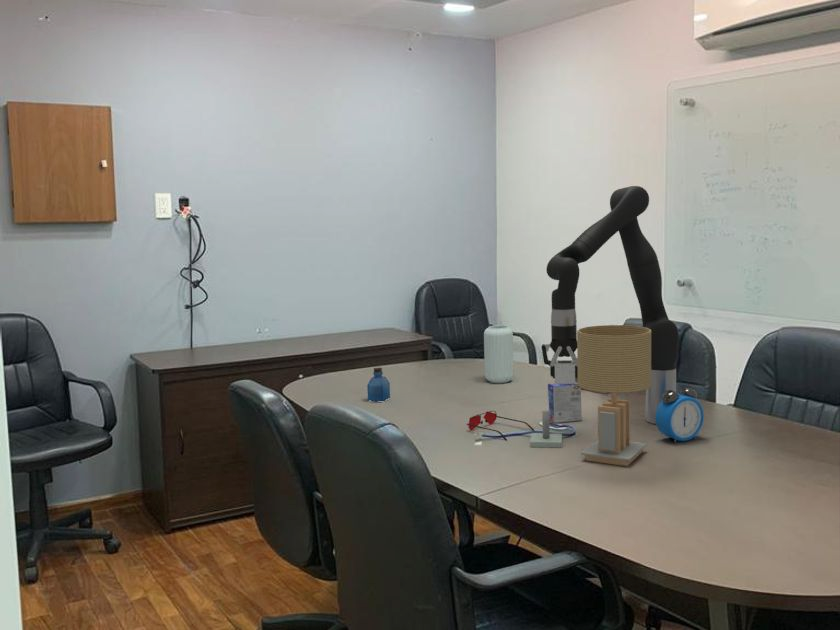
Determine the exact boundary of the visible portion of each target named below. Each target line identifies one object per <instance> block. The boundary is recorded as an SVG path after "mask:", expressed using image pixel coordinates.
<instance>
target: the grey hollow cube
mask: <svg viewBox="0 0 840 630" xmlns="http://www.w3.org/2000/svg"><path fill="white" fill-rule="evenodd" d="M554 365H555V378H554V383H555V384H575V363H574V361H573V360H572V359H565V360H564V359H563V360H562V359H561V360H560V359H559V360H558V359H557V360H556V362H555V364H554Z"/></svg>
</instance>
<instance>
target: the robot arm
mask: <svg viewBox="0 0 840 630" xmlns="http://www.w3.org/2000/svg"><path fill="white" fill-rule="evenodd" d="M649 205H650V197H649V194H648V190H646V189H645V188H643V186H640V185H639V186H638V185H631V186H626V187H622V188H618V189H616V190H614V191H613V192H612V193H611V195H610V198H609V206H610V207H609V208H610V212H609V213H607V214H606V215H605V216H603V217H601V218H600V219H599V220H597V221H596V222H595V223H593V224H591V225H590V226H589V227H587V228H586V229H585V230H584V231H583V232H581V234H580V235H579V236H577V238H575V240H574V241H572V243H570V245H568V246H567V247H565V248H563V249H562V250H560V251H558V252H557V253H556V254H554V255H553V257H552V258H551V259H550V260H549V261H548V262H547V264H546V268H545V269H546V274H547V276H548V277H549V278H550V279H552V280H554V281H558V284H557V288H555V289H553V290H552V291H551V313H550V327H551V329H550V330H551V333H550V335H551V342H550V343H547V344H544V343H542V344H541V347H540V348H541V353H542V359H543V364H544V365H547V366H549V367H550V368H549V369H550V372H549V373H550V374H549V375H550V377H552V379H554V380H555V362H556V360H558V358H562V357H567V358H571V360H573V361H574V363H575V378H577V376H578V366H577V356H576V355H577V354H575V353H576V352H577V330H578V328H577V312H576V311H577V310H576V291H577V288H578V284H579V281H580V280H579V278H580V267H579V264H582V263H585V262H586V263H587V261H589V259H591V258H592V257H593V256H595V254H596V253H597V252H598V251H599V250H600V249H601V247H603V246H604V245H605V244H606V242H608V241H609V240H610V239H611V238H612V237H613V236H614V235H615V234H617V233H619V237H620V240H621V244H622V248H623V251H624V255H625V258H626V263H627V267H628V271H629V276H630V279H631V283H632V287H633V288H634V292H635V295H636V298H637V302H638V304H639V308H640V314H641V315H640V316H641V322H642V327H644V328H648V329H650V330H651V386H650V388H648V389H646V390H645V421H646V422H647V423H651V424H655V425H657V424H656V411H657V408H658V406H659V404H660V403H661V401H662V395H663V394H664V393H665V392H666V391H669V390H674V391H676V392H677V362H678V360H679V344H680V343H679V340H680V339H679V336H680V335H679V328H678V327H677V325H676V323H675V322H674V321H672V320H671V319H669V317H668V314H667V312H666V308H665V305H664V301H663V293H662V292H663V289H662V288H663V281H662V280H663V279H662V271H661V270H662V269H661V267H660V262H659V260H658V259H659V258H658V255H657V253H656V251H655V249H654V247H653V246H652V245H651V243H650V241H648V239H647V237H646V236H645V235H644V233H643V232H642V230H641V227H640V225H639V220H638V217H639V216H640V215H642V214H643V213H644V212H645V211H647V209H648V208H649ZM550 349H551V350H552V351H553V352H554V353H553V356H552V358H551V360H549V359H548V352H549V350H550Z"/></svg>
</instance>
